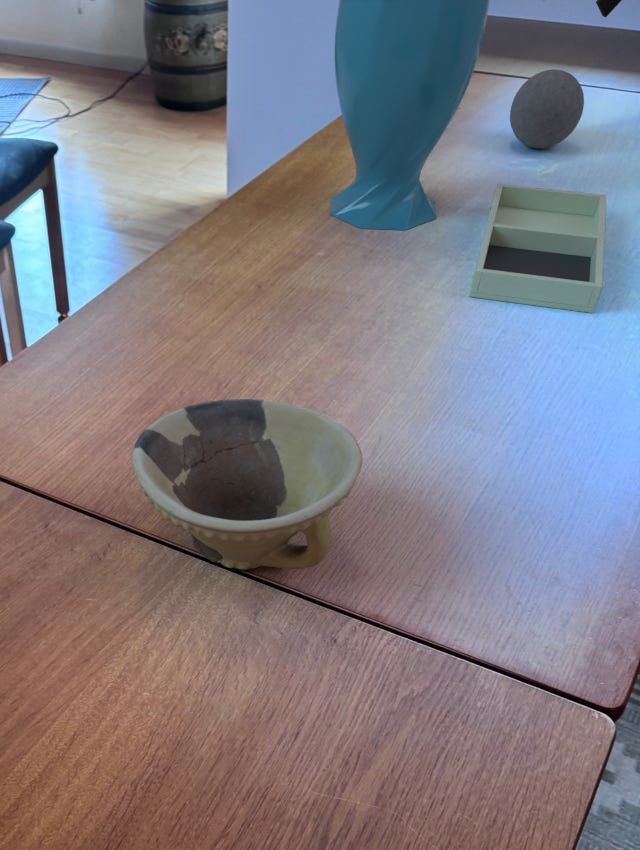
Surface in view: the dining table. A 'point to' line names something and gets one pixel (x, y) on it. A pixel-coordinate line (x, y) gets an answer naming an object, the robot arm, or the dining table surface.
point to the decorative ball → (547, 108)
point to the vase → (400, 98)
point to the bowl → (249, 478)
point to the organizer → (542, 248)
